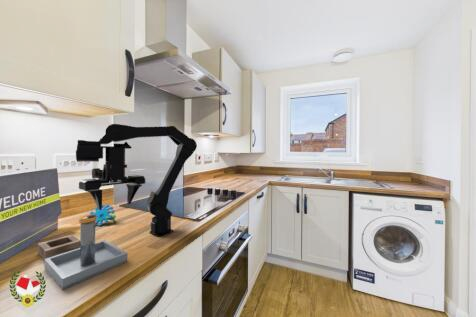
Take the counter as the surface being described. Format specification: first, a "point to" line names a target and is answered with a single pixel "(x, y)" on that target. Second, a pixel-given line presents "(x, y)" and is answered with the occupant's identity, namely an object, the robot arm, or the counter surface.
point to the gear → (103, 214)
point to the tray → (71, 272)
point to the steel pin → (87, 239)
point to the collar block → (58, 246)
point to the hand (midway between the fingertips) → (115, 206)
